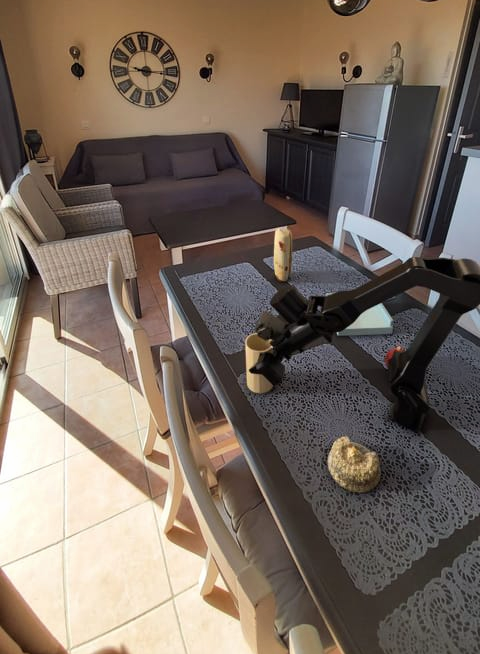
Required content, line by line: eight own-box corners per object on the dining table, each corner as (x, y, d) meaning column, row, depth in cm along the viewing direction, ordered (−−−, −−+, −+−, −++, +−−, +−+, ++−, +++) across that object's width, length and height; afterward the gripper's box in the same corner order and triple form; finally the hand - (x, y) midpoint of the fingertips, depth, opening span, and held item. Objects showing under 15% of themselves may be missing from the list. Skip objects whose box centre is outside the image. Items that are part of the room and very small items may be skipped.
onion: (409, 382, 89) (415, 357, 86) (385, 379, 91) (389, 354, 87) (404, 365, 95) (409, 341, 92) (381, 362, 96) (385, 338, 93)
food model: (271, 272, 142) (271, 225, 134) (288, 271, 143) (289, 224, 135) (275, 285, 133) (276, 235, 125) (293, 283, 134) (295, 234, 126)
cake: (373, 506, 65) (376, 489, 62) (320, 477, 69) (320, 461, 67) (385, 456, 72) (388, 439, 69) (336, 434, 77) (337, 418, 74)
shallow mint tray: (391, 334, 106) (394, 321, 105) (337, 335, 106) (339, 323, 104) (372, 303, 121) (374, 291, 119) (325, 304, 121) (326, 293, 119)
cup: (263, 398, 86) (262, 356, 81) (241, 384, 90) (239, 344, 85) (278, 380, 91) (279, 340, 86) (257, 368, 95) (256, 329, 90)
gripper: (284, 286, 88) (243, 316, 96) (265, 334, 72) (217, 365, 80) (315, 318, 89) (271, 345, 97) (303, 372, 73) (252, 399, 81)
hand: (254, 361), depth 88 cm, fingers closed on cup, 7 cm apart
